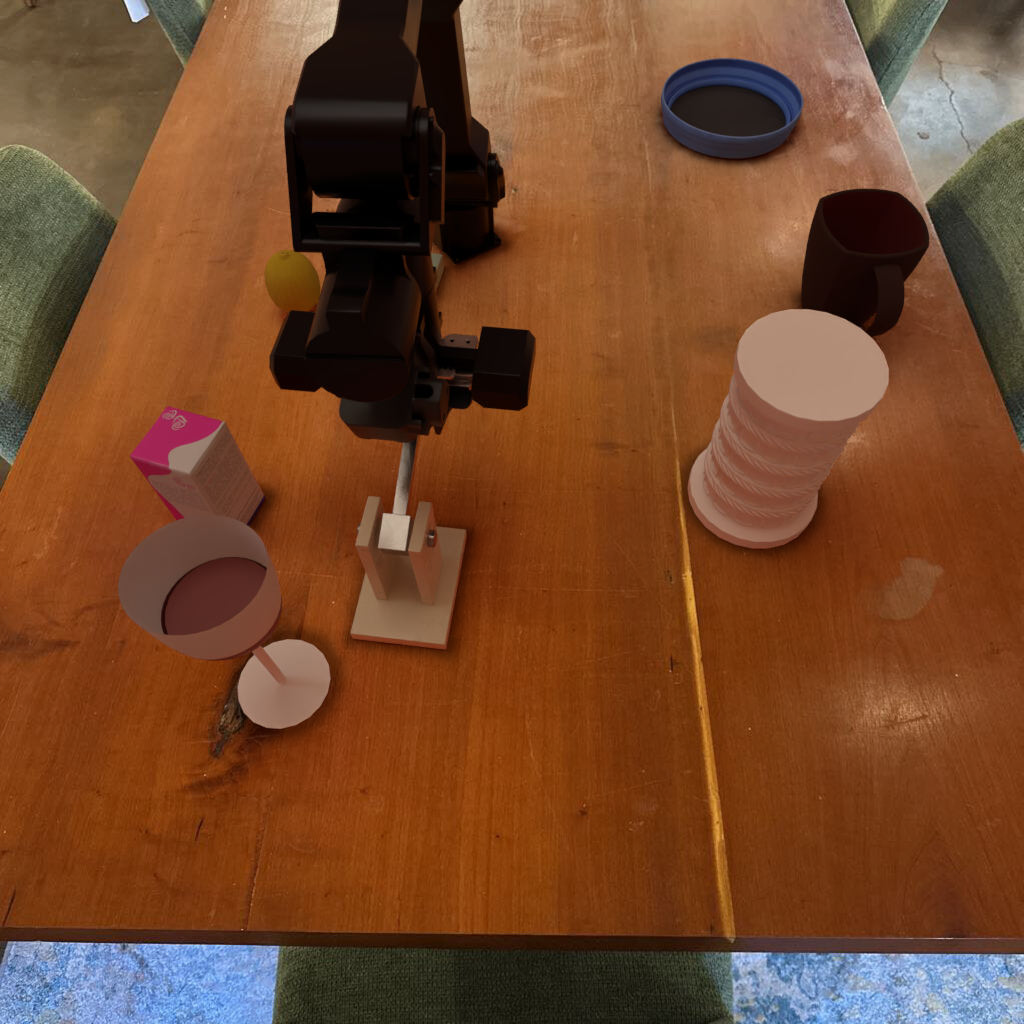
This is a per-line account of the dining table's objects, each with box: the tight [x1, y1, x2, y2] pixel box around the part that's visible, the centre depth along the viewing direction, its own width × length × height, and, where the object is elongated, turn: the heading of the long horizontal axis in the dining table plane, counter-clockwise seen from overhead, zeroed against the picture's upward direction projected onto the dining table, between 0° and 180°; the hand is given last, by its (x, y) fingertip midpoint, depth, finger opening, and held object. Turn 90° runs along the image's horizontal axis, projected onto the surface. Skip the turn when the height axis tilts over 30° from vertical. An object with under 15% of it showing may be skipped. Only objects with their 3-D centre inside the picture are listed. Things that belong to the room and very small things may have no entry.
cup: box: [800, 188, 930, 338], centre depth 77 cm, size 10×14×12 cm
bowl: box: [660, 57, 805, 159], centre depth 100 cm, size 18×18×4 cm
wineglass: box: [117, 515, 332, 730], centre depth 54 cm, size 8×9×20 cm
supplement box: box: [129, 405, 266, 527], centre depth 66 cm, size 6×6×12 cm
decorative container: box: [686, 308, 890, 549], centre depth 63 cm, size 12×12×18 cm
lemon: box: [264, 249, 322, 314], centre depth 81 cm, size 6×6×8 cm
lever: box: [377, 435, 422, 556], centre depth 60 cm, size 13×3×3 cm, turn 173°
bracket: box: [349, 495, 468, 650], centre depth 62 cm, size 11×8×11 cm
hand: (418, 428), depth 63 cm, fingers closed on lever, 3 cm apart
